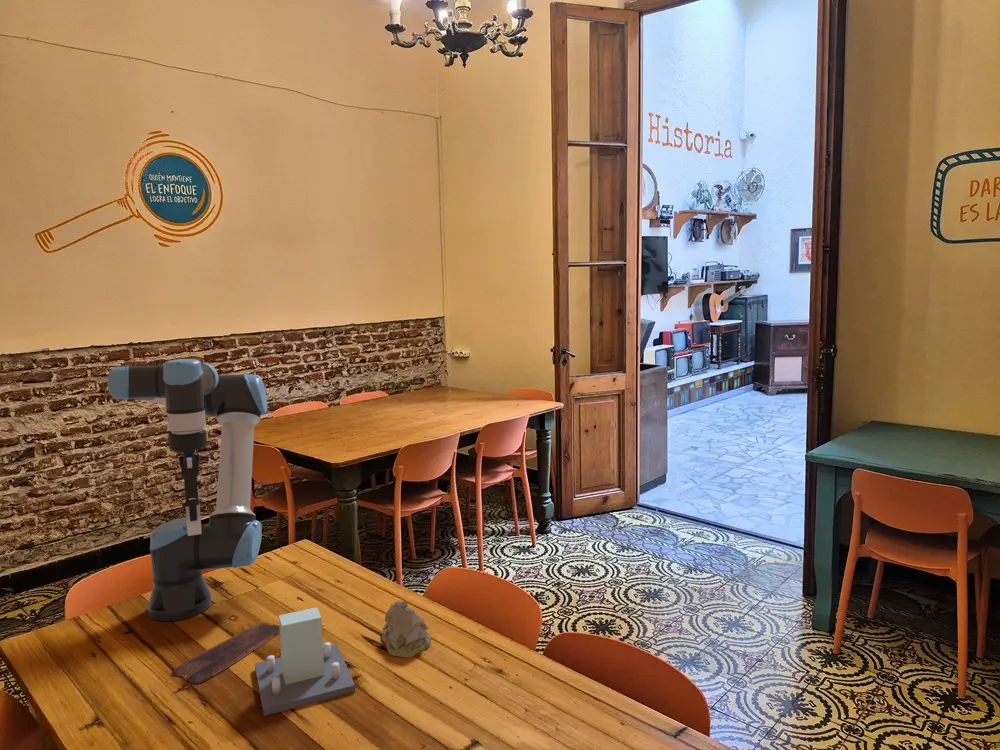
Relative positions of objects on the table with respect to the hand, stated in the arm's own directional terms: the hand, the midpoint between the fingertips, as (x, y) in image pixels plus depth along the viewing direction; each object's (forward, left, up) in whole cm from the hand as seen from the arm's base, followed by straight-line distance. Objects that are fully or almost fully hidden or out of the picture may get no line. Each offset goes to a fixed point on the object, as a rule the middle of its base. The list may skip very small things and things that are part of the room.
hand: (194, 524), depth 148 cm
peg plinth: (+19, +19, -32) cm, 42 cm away
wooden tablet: (-1, +6, -32) cm, 33 cm away
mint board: (+19, +19, -30) cm, 40 cm away
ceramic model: (+13, +43, -32) cm, 55 cm away
